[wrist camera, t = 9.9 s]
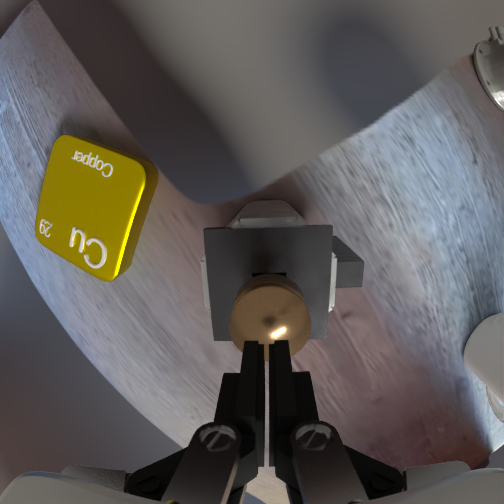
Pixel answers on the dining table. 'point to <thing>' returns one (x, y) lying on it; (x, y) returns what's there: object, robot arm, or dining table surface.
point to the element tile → (94, 205)
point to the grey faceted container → (275, 261)
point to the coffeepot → (488, 359)
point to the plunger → (270, 313)
